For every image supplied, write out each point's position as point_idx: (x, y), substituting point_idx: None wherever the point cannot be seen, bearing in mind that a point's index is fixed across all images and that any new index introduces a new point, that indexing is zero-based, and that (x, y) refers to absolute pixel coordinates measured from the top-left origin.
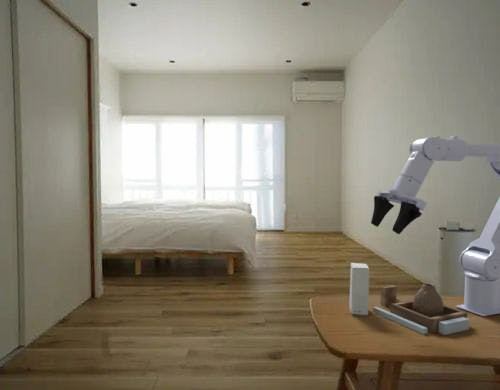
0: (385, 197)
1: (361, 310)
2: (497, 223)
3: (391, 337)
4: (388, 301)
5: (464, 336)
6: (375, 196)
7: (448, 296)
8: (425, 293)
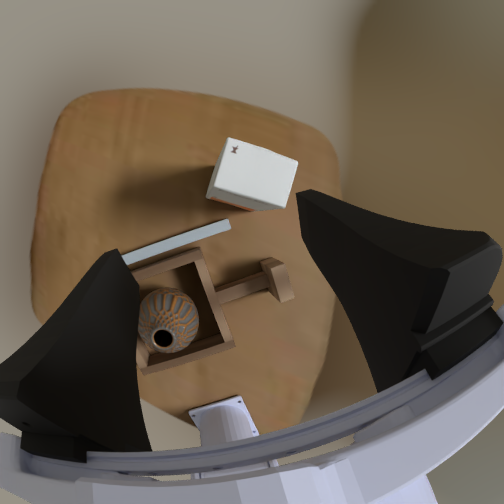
0: (441, 366)
1: (209, 183)
2: None
3: (94, 196)
4: (264, 272)
5: None
6: (486, 242)
7: (304, 407)
8: (149, 316)
